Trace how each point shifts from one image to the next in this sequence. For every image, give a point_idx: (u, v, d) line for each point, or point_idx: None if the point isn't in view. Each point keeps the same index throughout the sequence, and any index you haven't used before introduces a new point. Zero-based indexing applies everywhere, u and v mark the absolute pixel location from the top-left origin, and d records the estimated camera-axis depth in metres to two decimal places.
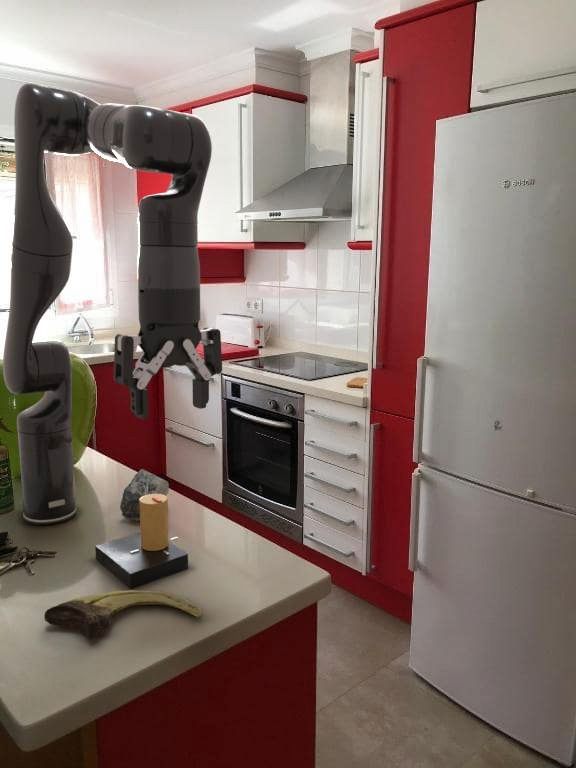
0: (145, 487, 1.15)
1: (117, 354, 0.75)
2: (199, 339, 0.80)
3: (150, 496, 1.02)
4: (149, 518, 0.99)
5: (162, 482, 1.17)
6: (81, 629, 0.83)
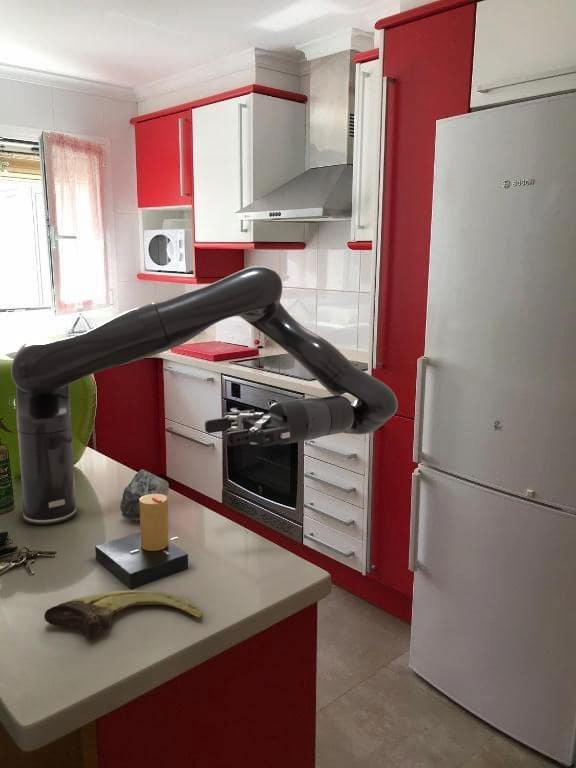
0: (145, 487, 1.15)
1: (279, 433, 1.03)
2: None
3: (150, 496, 1.02)
4: (149, 518, 0.99)
5: (162, 482, 1.17)
6: (81, 629, 0.83)
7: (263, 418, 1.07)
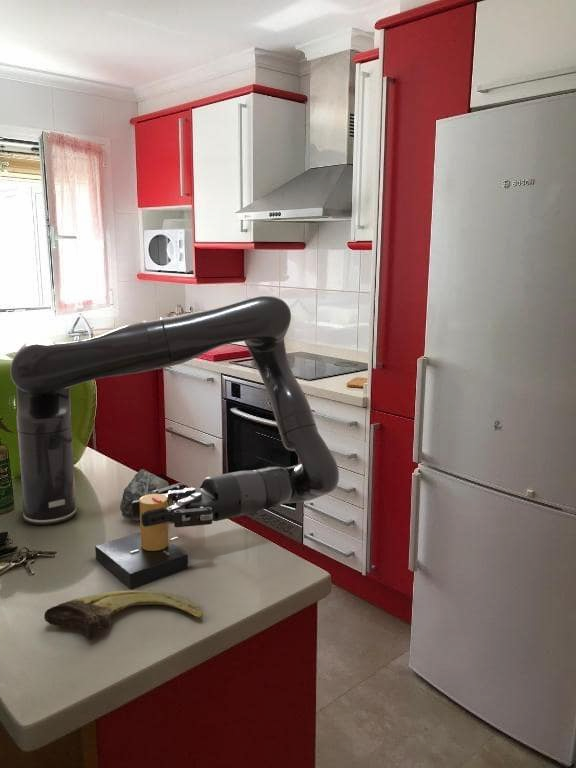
0: (145, 487, 1.15)
1: (197, 515, 0.99)
2: None
3: (150, 496, 1.02)
4: None
5: (162, 482, 1.17)
6: (81, 629, 0.83)
7: (191, 495, 1.03)
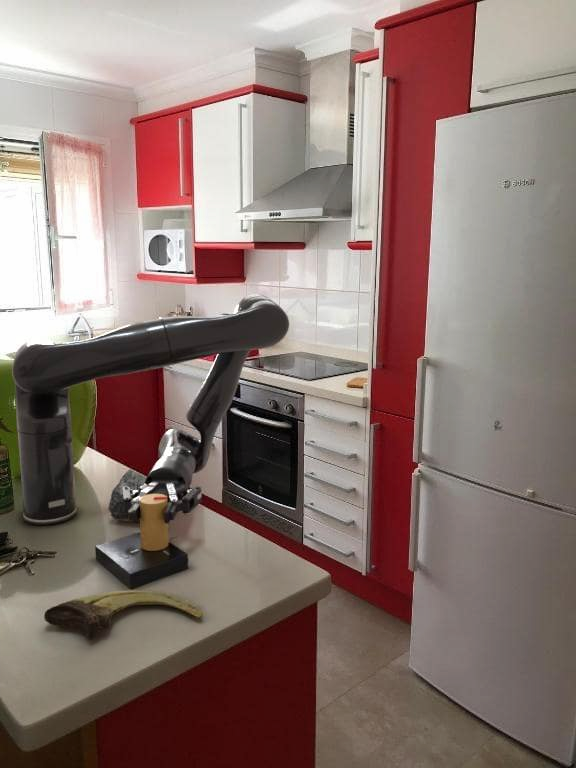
0: (133, 488, 1.14)
1: (196, 496, 1.06)
2: None
3: (146, 498, 1.01)
4: (162, 516, 1.00)
5: None
6: (81, 629, 0.83)
7: (168, 486, 1.07)
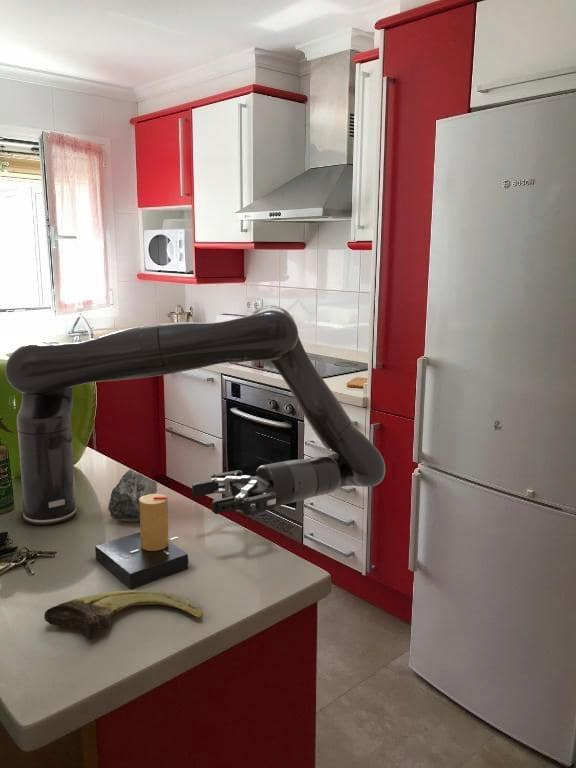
0: (133, 487, 1.15)
1: (264, 501, 1.03)
2: None
3: (146, 498, 1.01)
4: (162, 516, 1.00)
5: (150, 482, 1.17)
6: (81, 629, 0.83)
7: (249, 483, 1.08)
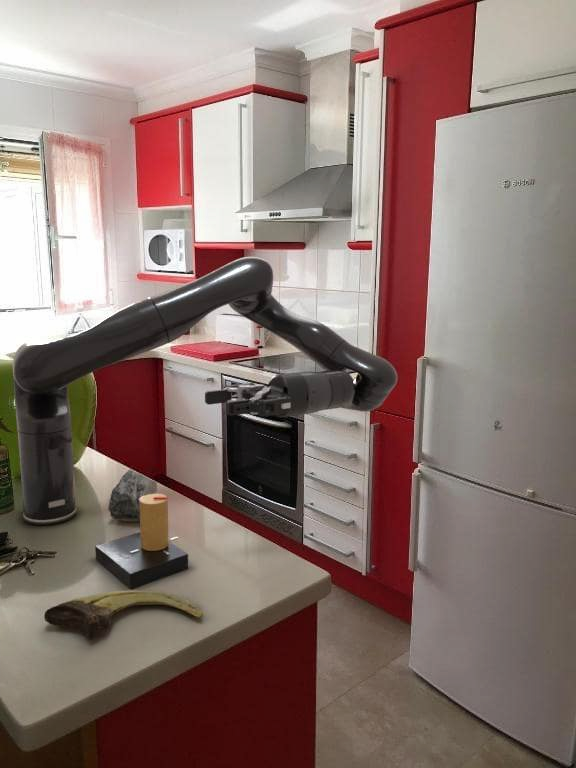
0: (133, 487, 1.15)
1: (279, 403, 1.02)
2: None
3: (146, 498, 1.01)
4: (162, 516, 1.00)
5: (150, 482, 1.17)
6: (81, 629, 0.83)
7: (263, 389, 1.06)
